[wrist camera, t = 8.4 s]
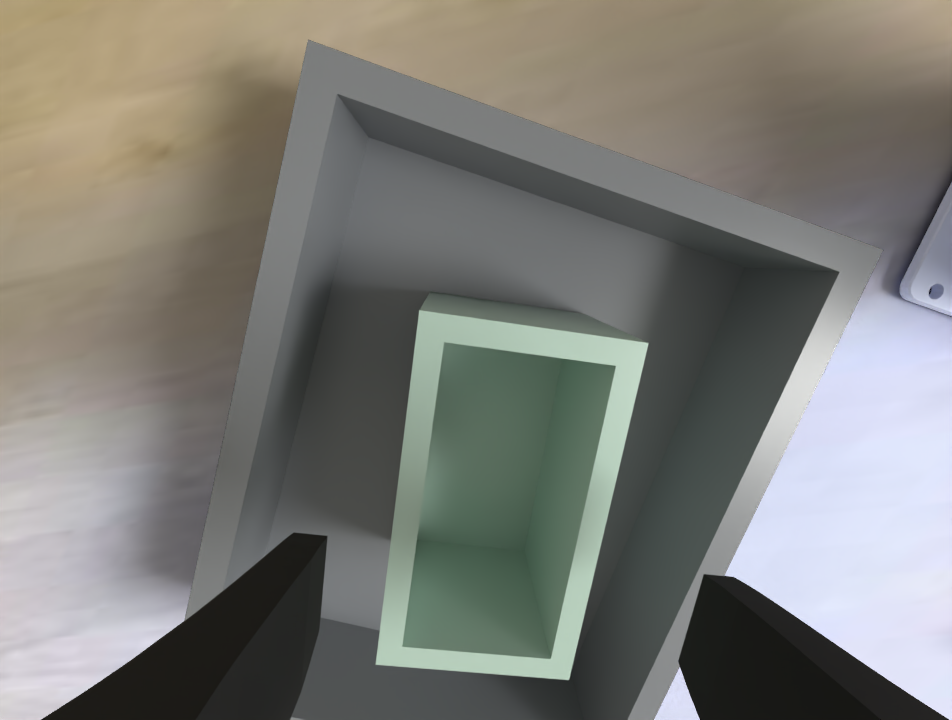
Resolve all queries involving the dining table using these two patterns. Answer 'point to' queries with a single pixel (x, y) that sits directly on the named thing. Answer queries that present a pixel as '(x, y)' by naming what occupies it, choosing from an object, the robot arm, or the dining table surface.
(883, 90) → the dining table surface
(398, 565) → the box
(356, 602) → the tray
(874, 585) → the dining table surface
